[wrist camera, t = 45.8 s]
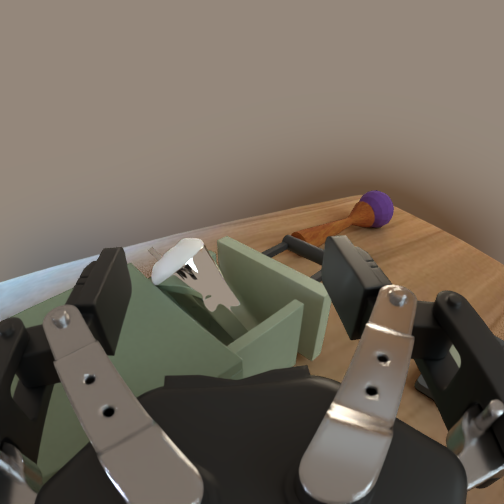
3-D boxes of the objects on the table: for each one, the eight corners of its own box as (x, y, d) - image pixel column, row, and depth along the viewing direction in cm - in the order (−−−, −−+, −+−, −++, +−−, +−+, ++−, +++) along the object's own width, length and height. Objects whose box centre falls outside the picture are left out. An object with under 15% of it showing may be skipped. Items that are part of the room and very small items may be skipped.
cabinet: (151, 341, 27) (130, 262, 23) (245, 433, 19) (243, 359, 15) (25, 406, 18) (-27, 334, 14) (85, 533, 11) (5, 493, 6)
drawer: (270, 271, 35) (272, 216, 32) (357, 317, 28) (372, 257, 25) (117, 356, 24) (93, 294, 20) (197, 453, 17) (178, 401, 13)
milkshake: (245, 321, 27) (170, 231, 25) (282, 322, 22) (193, 212, 20) (211, 359, 24) (128, 266, 22) (243, 369, 20) (141, 255, 18)
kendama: (281, 218, 41) (370, 185, 50) (286, 259, 43) (372, 217, 52) (312, 227, 36) (399, 189, 45) (317, 271, 38) (399, 224, 47)
